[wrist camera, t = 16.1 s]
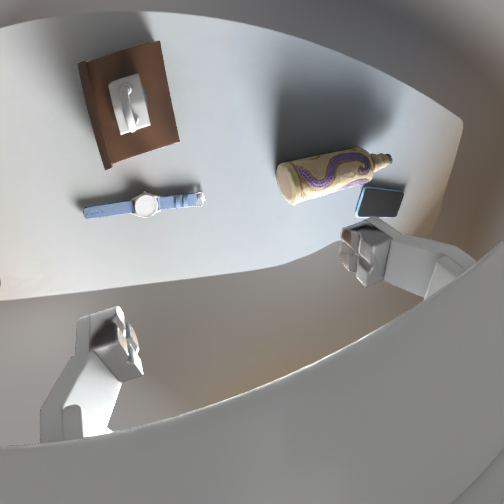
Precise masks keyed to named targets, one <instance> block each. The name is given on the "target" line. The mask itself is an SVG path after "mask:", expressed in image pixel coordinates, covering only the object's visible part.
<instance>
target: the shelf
mask: <svg viewBox="0 0 504 504" xmlns="http://www.w3.org/2000/svg"><path fill="white" fill-rule="evenodd" d="M78 69H79V74H80V79H81V84H82V88H83V93H84V97H85V101H86V105H87V109H88V113H89V117H90V121H91V124H92V128H93V132H94V135H95V139H96V142H97V145H98V149H99V152H100V155H101V159H102V162H103V165H104V168H105V170H107V169H110V168H112V167H113V163H116V162H119V161H122V160H125V159H127V158H130V157H133V156H136V155H139V154H142V153H145V152H149V151H152V150H155V149H158V148H161V147H165V146H168V145H171V144H175V143H178V142H180V140H179V135H178V131H177V126H176V122H175V117H174V112H173V107H172V102H171V97H170V92H169V87H168V82H167V77H166V72H165V66H164V61H163V55H162V50H161V44H160V41H156V42H152V43H148V44H144V45H140V46H136V47H132V48H129V49H125V50H122V51H119V52H116V53H112V54H109V55H106V56H103V57H100V58H98V59H95V60H92V61H89V62H86V61H83V62H81V63H78ZM137 73H138V74H139V77H140V80H141V83H142V85H143V88H144V91H145V93H146V96H147V101H148V103H147V106H148V116H149V120H150V125H149V126H146V127H143V128H140V129H137V130H136V131H135V132H128V133H125V134H122V135H121V133H120V130H119V126H118V123H117V119H116V116H115V112H114V108H113V104H112V100H111V95H110V91H109V86H108V85H109V84H110V83H111V82H112V81H115V80H118V79H121V78H124V77H127V76H130V75H134V74H137Z"/></svg>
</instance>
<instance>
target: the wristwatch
mask: <svg viewBox="0 0 504 504" xmlns="http://www.w3.org/2000/svg"><path fill="white" fill-rule="evenodd" d="M196 193H201V205H196ZM156 198H157V200H156ZM205 199H206V198H205V196H204V194H203V192H195V193H190V194H188V193H185V194H175V195H170V196H161V197H160V196H159V195H153V194H150V193H147V191H143V193H142V194H140V195H138V196H136V197H134V198H132V199H131V200H128V201H121V202H114V203H108V204H102V205H95V206H89V207H85V208H84V210H83V214H84V217H85V218H86V219H91V218H98V217H106V216H113V215H121V214H130V213H133V215H137V216H140V217H150V216H152V215H154V214H155V213H157V212H160V211H161V210H162V209H170V208H180V207H183V208H184V207H189V206H203V203H204V201H205ZM134 200H136V201H135V204H134ZM102 210H103V211H102ZM135 211H136V212H135ZM86 212H87V214H86Z"/></svg>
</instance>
